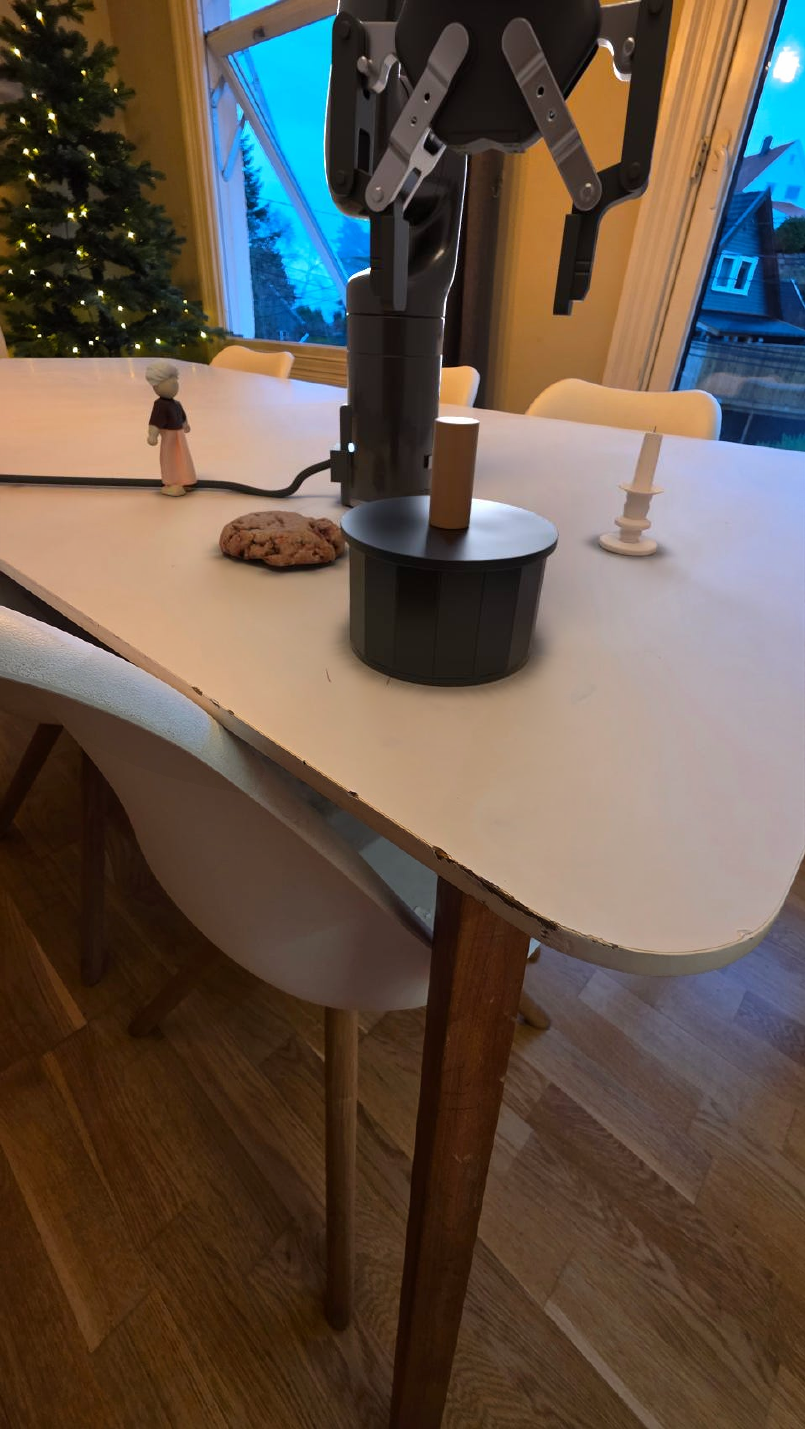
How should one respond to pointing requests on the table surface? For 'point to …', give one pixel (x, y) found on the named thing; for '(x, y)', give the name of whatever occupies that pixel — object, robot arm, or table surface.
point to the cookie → (282, 538)
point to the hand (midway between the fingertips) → (474, 313)
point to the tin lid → (450, 517)
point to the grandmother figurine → (170, 429)
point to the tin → (442, 620)
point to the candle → (637, 504)
